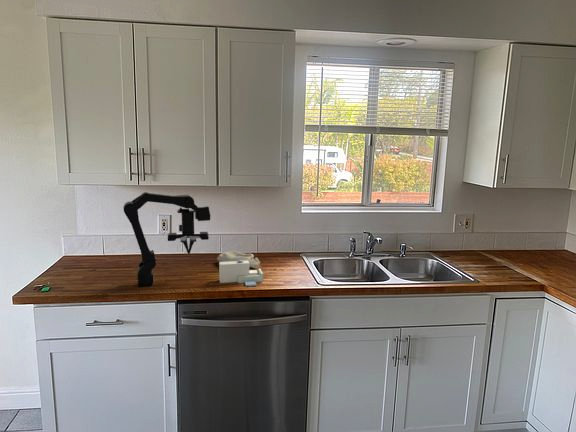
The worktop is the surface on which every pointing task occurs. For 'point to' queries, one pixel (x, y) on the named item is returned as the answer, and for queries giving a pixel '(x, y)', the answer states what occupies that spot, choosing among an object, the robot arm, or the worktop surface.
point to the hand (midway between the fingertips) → (188, 253)
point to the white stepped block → (234, 270)
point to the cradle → (251, 279)
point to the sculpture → (239, 258)
